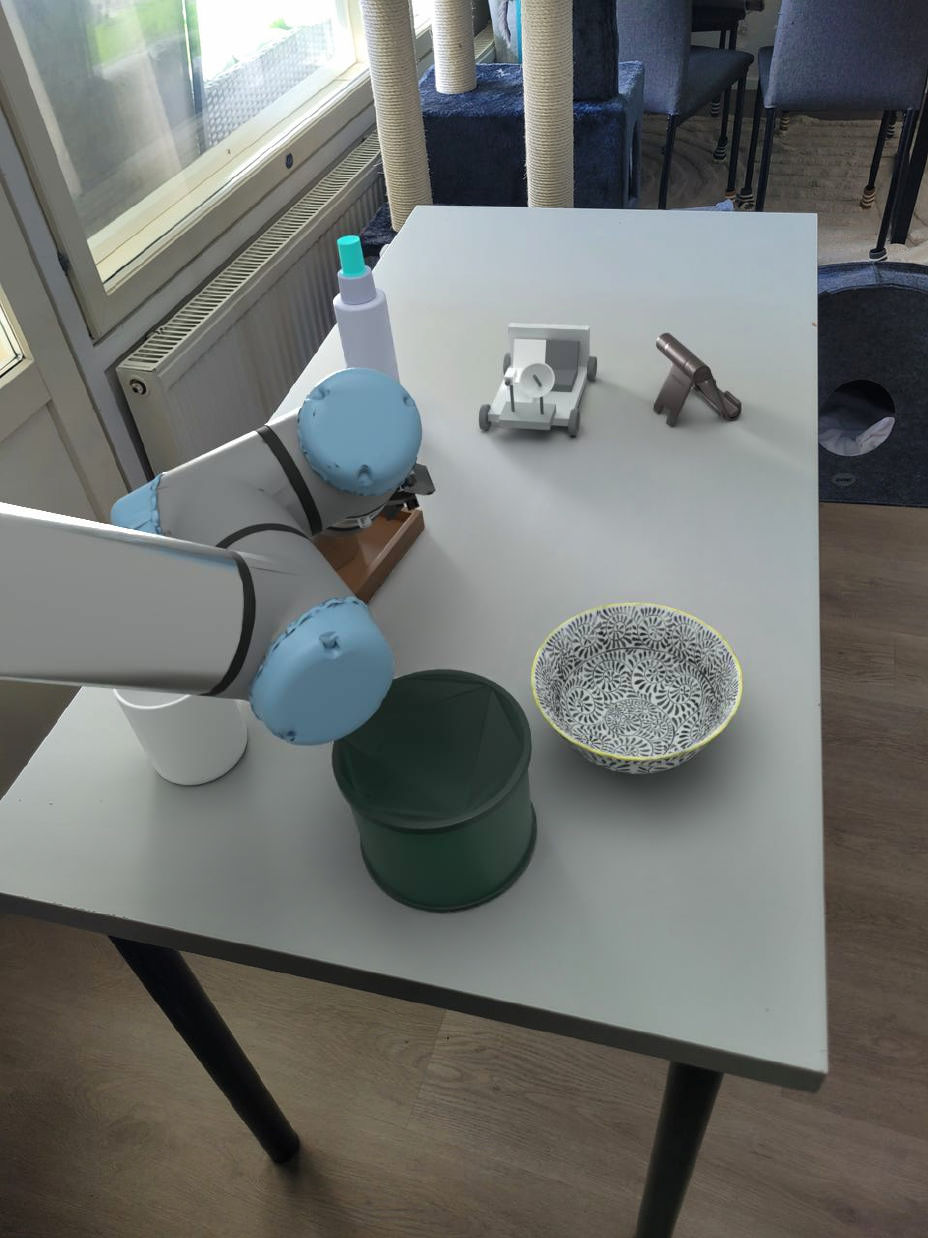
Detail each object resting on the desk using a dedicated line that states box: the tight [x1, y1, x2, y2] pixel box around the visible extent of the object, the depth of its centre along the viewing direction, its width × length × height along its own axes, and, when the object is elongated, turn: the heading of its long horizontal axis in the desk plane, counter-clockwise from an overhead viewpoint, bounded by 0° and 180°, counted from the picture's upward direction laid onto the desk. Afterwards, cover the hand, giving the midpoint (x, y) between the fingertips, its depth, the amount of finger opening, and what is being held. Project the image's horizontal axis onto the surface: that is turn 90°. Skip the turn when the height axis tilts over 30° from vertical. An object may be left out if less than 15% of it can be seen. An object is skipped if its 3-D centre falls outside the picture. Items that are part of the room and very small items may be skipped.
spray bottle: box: [332, 234, 401, 384], centre depth 108 cm, size 6×6×22 cm
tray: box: [335, 506, 426, 605], centre depth 96 cm, size 16×16×2 cm
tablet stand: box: [652, 332, 743, 427], centre depth 107 cm, size 9×8×8 cm
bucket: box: [331, 668, 538, 914], centre depth 67 cm, size 14×14×11 cm
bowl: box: [530, 602, 744, 775], centre depth 73 cm, size 16×16×8 cm
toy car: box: [478, 322, 598, 437], centre depth 110 cm, size 18×10×12 cm
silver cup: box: [309, 533, 358, 570], centre depth 93 cm, size 7×7×9 cm
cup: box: [111, 689, 248, 786], centre depth 77 cm, size 8×12×10 cm
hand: (321, 529), depth 90 cm, fingers open, 13 cm apart
